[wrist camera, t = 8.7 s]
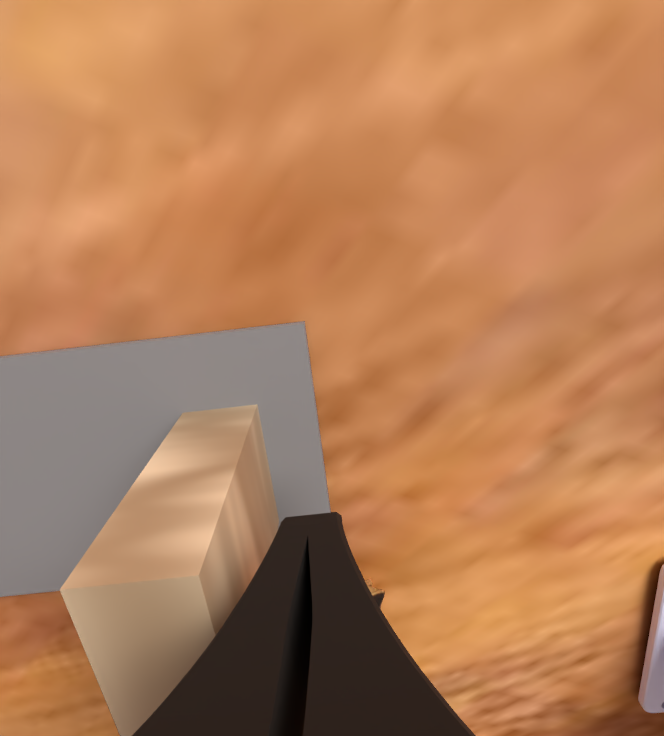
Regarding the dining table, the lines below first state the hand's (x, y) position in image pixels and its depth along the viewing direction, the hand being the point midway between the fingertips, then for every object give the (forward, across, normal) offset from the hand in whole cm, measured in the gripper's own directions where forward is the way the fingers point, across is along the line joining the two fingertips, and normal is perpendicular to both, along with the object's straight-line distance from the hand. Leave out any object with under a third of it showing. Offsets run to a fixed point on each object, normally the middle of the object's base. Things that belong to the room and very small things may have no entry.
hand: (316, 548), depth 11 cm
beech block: (+4, +3, 0) cm, 5 cm away
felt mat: (+5, +7, 0) cm, 8 cm away
